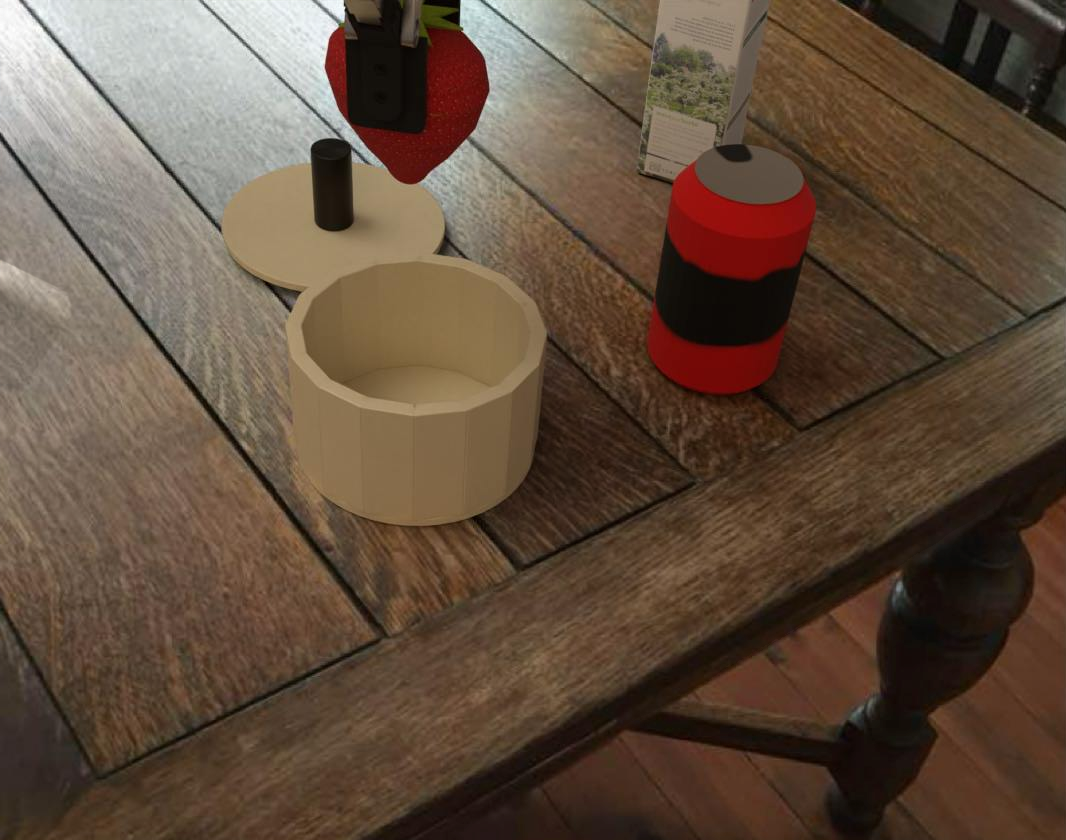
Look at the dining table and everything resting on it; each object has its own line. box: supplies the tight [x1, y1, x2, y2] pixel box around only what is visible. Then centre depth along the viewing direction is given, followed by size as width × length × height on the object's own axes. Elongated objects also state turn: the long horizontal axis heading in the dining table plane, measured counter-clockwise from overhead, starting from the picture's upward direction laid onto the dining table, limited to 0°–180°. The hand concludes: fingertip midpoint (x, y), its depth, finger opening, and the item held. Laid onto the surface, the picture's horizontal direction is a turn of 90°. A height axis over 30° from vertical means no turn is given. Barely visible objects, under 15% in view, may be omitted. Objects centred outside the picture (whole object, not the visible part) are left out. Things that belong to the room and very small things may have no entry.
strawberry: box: [324, 0, 491, 185], centre depth 58 cm, size 6×8×10 cm
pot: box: [284, 252, 548, 527], centre depth 69 cm, size 13×13×8 cm
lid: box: [220, 137, 446, 293], centre depth 82 cm, size 14×14×6 cm
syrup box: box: [636, 0, 771, 184], centre depth 87 cm, size 6×6×14 cm
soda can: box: [646, 143, 817, 396], centre depth 74 cm, size 8×8×12 cm
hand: (405, 82), depth 58 cm, fingers closed on strawberry, 6 cm apart
